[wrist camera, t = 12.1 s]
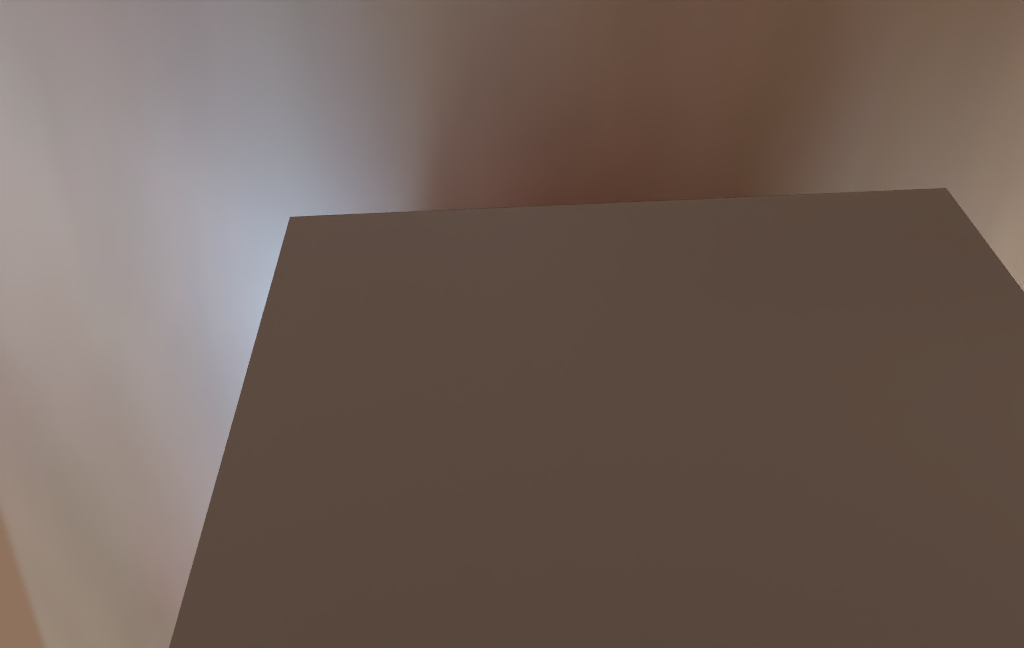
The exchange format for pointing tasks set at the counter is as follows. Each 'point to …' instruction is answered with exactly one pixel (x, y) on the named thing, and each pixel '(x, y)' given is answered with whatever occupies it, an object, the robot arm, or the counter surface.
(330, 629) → the grey rectangular box
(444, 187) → the counter surface
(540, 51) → the counter surface
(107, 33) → the counter surface
